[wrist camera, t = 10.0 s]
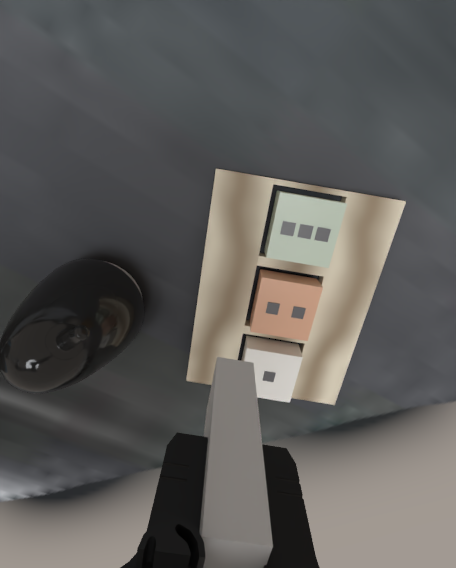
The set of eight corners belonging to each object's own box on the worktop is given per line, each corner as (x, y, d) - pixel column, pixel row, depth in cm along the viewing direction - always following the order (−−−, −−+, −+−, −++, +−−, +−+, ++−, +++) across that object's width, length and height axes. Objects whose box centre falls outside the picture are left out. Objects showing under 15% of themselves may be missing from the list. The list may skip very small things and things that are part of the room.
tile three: (264, 250, 32) (266, 257, 29) (276, 190, 30) (280, 192, 27) (321, 260, 32) (328, 268, 29) (338, 200, 30) (347, 203, 27)
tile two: (249, 319, 34) (250, 332, 32) (260, 269, 32) (262, 277, 30) (302, 328, 34) (307, 341, 32) (316, 278, 32) (323, 287, 30)
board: (188, 373, 38) (186, 380, 37) (217, 168, 30) (216, 168, 29) (331, 396, 39) (334, 404, 37) (398, 200, 30) (406, 201, 29)
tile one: (237, 378, 37) (237, 394, 35) (246, 335, 35) (246, 348, 32) (286, 386, 37) (289, 403, 35) (298, 344, 35) (302, 358, 33)
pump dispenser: (173, 305, 35) (127, 396, 21) (105, 347, 38) (21, 455, 23) (115, 230, 33) (17, 275, 18) (46, 280, 35) (-90, 356, 21)
